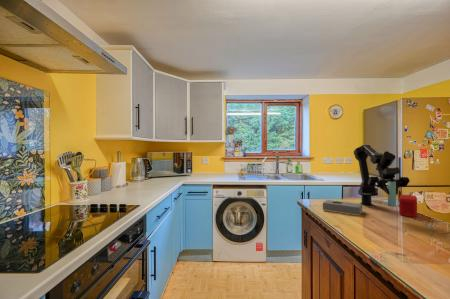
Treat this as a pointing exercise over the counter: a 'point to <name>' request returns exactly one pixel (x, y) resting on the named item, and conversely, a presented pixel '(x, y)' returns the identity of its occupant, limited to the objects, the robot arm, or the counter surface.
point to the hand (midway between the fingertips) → (392, 194)
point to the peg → (392, 194)
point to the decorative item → (408, 205)
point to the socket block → (343, 207)
